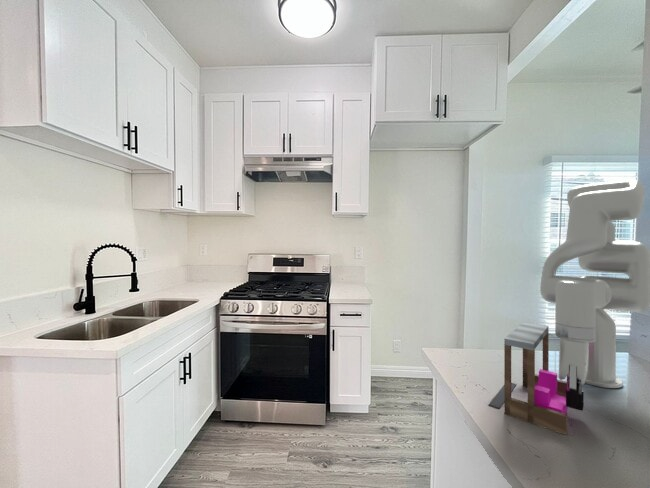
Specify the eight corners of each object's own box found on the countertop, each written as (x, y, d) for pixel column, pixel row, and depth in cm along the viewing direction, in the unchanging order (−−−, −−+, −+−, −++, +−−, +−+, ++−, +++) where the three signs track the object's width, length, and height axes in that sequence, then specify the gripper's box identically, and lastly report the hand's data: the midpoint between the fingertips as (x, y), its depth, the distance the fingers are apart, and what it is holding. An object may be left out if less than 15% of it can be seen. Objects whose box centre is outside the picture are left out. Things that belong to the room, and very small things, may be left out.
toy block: (561, 430, 69) (561, 396, 69) (528, 419, 73) (528, 387, 73) (569, 404, 80) (569, 375, 80) (540, 396, 84) (540, 369, 84)
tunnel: (523, 384, 90) (523, 322, 90) (575, 398, 82) (575, 330, 82) (504, 414, 75) (504, 338, 75) (566, 435, 67) (566, 350, 67)
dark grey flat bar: (506, 382, 92) (506, 381, 92) (516, 385, 90) (516, 384, 90) (488, 405, 79) (488, 404, 79) (499, 409, 77) (499, 407, 77)
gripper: (559, 323, 82) (559, 391, 82) (551, 335, 71) (551, 414, 71) (596, 328, 77) (596, 401, 77) (594, 342, 66) (594, 427, 66)
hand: (574, 407), depth 74 cm, fingers closed
